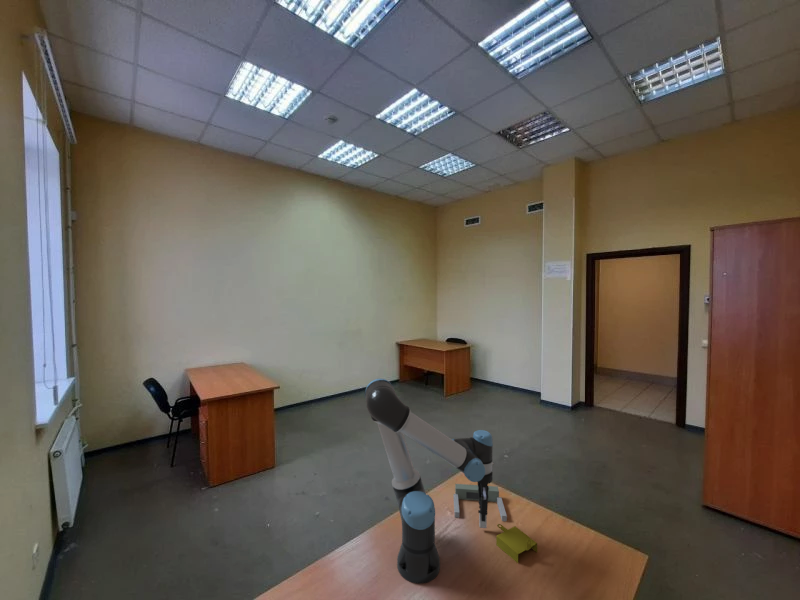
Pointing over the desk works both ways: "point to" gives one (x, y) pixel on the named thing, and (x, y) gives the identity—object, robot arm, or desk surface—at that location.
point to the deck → (477, 497)
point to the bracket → (514, 542)
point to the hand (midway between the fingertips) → (482, 526)
